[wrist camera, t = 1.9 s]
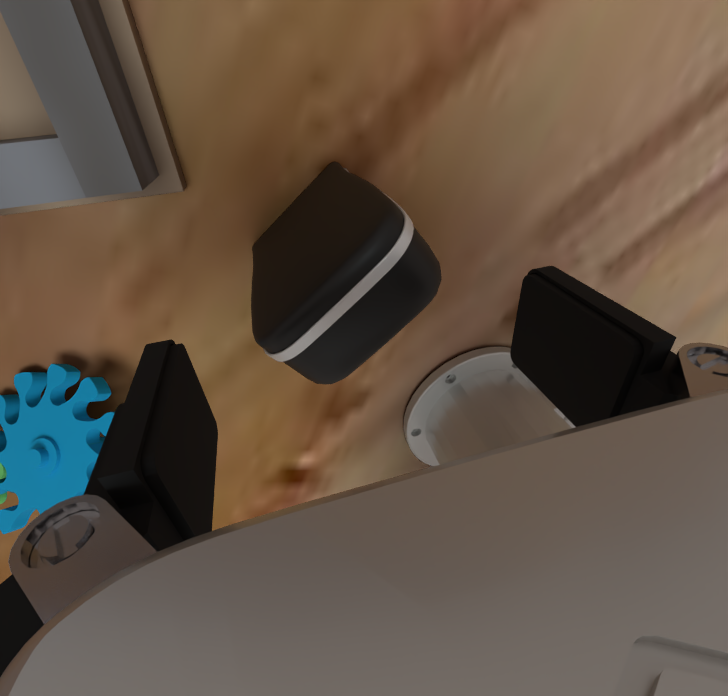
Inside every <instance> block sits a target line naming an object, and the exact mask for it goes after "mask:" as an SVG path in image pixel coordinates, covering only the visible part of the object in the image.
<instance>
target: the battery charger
mask: <svg viewBox="0 0 728 696" xmlns="http://www.w3.org/2000/svg"><path fill="white" fill-rule="evenodd" d="M252 251H253V276H252V294H251V313H252V329H253V335H254V338H255V341H256V343H257V344H259V345H260V346H261V347H262V348H263V349H264V352H265V353H266V354H267V355H268V356H270V357H271V358H273V359H274V360H276V361H279V362H284V363H285V364H287V365H288V366H290V367H291V368H293V369H294V370H296V371H297V372H298V373H300V374H301V375H303V376H304V377H306V378H307V379H309V380H311V381H313V382H315V383H317V384H333V383H335V382H338V381H340V380H342V379H344V378H346V377H347V376H348V375H349V374H351V373H352V372H353V371H355V370H356V369H357V368H358V367H359V366H360V365H362V364H363V363H364V362H365V361H366V360H367V359H368V358H370V357H371V356H372V355H373V354H374V353H375V352H377V351H378V350H379V349H380V348H381V347H382V346H384V345H385V344H386V343H387V342H388V341H389V340H390V339H391V338H393V337H394V336H395V335H396V334H397V333H398V332H399V331H400V330H401V329H402V328H404V327H405V326H406V325H407V324H408V323H409V322H410V321H411V320H412V319H413V318H414V317H416V316H417V315H418V314H419V313H420V312H421V311H422V310H423V309H424V308H425V307H426V306H427V305H428V304H429V303H430V302H431V301H432V299H433V298H434V296H435V295H436V294H437V291H438V288H439V285H440V282H441V270H440V264H439V262H438V260H437V258H436V257H435V255H434V253H433V252H432V250H431V248H430V247H429V245H428V244H427V243H426V242H425V240H424V239H423V238H422V237H421V235H420V234H419V233H418V232H417V230H416V229H415V228H414V227H413V223H412V221H411V219H410V218H409V216H408V215H407V214H406V212H405V211H404V210H403V209H402V208H401V207H400V206H399V205H398V204H397V203H396V202H395V201H394V200H392V199H391V198H390V197H389V196H388V195H386V194H385V193H383V192H382V191H380V190H379V189H378V188H377V187H375V186H374V185H372V184H371V183H369V182H368V181H366V180H364V179H362V178H360V177H358V176H356V175H354V174H352V173H350V172H349V171H348V170H347V169H346V168H343V167H342V166H341V165H340V164H339V163H337V162H332V163H331V164H329V165H328V166H327V167H326V168H325V170H324V171H323V172H322V173H321V174H320V175H319V176H318V177H317V178H316V179H315V180H314V181H313V182H312V183H311V184H310V185H309V186H308V187H307V188H306V189H305V190H304V192H303V193H302V194H301V195H300V196H299V197H298V198H297V199H296V200H295V201H294V202H293V203H292V204H291V205H290V206H289V207H288V208H287V209H286V211H285V212H284V213H283V214H282V215H281V216H280V217H279V218H278V219H277V220H276V221H275V222H274V223H273V224H272V225H271V227H270V228H269V229H268V230H267V231H266V232H265V233H264V234H263V235H262V236H261V237H260V238H259V239H258V241H257V242H256V243H255V244H254V245H253V247H252Z"/></svg>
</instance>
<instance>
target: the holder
mask: <svg viewBox="0 0 728 696" xmlns="http://www.w3.org/2000/svg"><path fill="white" fill-rule="evenodd" d="M186 187H187V185H186V182H185V179H184V176H183V173H182V170H181V166H180V163H179V160H178V157H177V154H176V151H175V147H174V144H173V141H172V138H171V135H170V132H169V129H168V125H167V122H166V119H165V116H164V113H163V110H162V106H161V103H160V100H159V97H158V94H157V91H156V87H155V84H154V81H153V78H152V75H151V72H150V69H149V65H148V62H147V59H146V56H145V53H144V50H143V46H142V43H141V40H140V37H139V34H138V31H137V27H136V24H135V21H134V18H133V15H132V12H131V9H130V5H129V2H128V0H0V215H8V214H15V213H23V212H30V211H38V210H46V209H53V208H61V207H68V206H76V205H84V204H91V203H99V202H106V201H114V200H121V199H129V198H137V197H144V196H152V195H159V194H167V193H175V192H182V191H184V190H185V188H186Z"/></svg>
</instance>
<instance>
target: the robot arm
mask: <svg viewBox="0 0 728 696" xmlns="http://www.w3.org/2000/svg"><path fill="white" fill-rule="evenodd" d="M675 339H676V337H675V336H673V335H671V334H669V333H668V332H666V331H664V330H663V329H661V328H659V327H657V326H656V325H654V324H652V323H651V322H649V321H647V320H645V319H644V318H642V317H640V316H638V315H637V314H635V313H633V312H632V311H630V310H628V309H626V308H625V307H623V306H621V305H620V304H618V303H616V302H614V301H613V300H611V299H609V298H607V297H606V296H604V295H602V294H601V293H599V292H597V291H595V290H594V289H592V288H590V287H589V286H587V285H585V284H583V283H582V282H580V281H578V280H576V279H575V278H573V277H571V276H570V275H568V274H566V273H564V272H563V271H561V270H559V269H558V268H556V267H554V266H547V267H542V268H537V269H532V270H531V271H529V273H528V275H527V276H525V277H524V279H523V282H522V288H521V294H520V299H519V305H518V311H517V317H516V322H515V328H514V334H513V339H512V345H511V348H508V347H486V348H482V349H477V350H473V351H470V352H468V353H465V354H462V355H460V356H458V357H456V358H454V359H452V360H450V361H449V362H447V363H445V364H443V365H442V366H441V367H440V368H438V369H437V370H436V371H434V372H433V373H432V374H431V375H430V376H429V377H428V378H427V379H426V380H425V381H424V382H423V383H422V384H421V385H420V386H419V388H418V389H417V390H416V392H415V393H414V394H413V396H412V398H411V400H410V402H409V404H408V406H407V408H406V412H405V416H404V426H403V430H404V434H405V438H406V441H407V443H408V445H409V447H410V449H411V451H412V452H413V454H414V455H415V456H416V457H417V458H418V459H419V460H421V461H422V462H423V463H425V464H428V465H430V466H433V467H429V468H425V469H422V470H418V471H415V472H411V473H408V474H404V475H401V476H397V477H393V478H390V479H386V480H383V481H379V482H376V483H372V484H369V485H365V486H362V487H358V488H354V489H351V490H347V491H344V492H340V493H337V494H333V495H330V496H326V497H322V498H319V499H315V500H312V501H308V502H305V503H302V504H298V505H295V506H292V507H288V508H285V509H282V510H278V511H275V512H272V513H268V514H265V515H261V516H258V517H255V518H251V519H248V520H245V521H241V522H238V523H235V524H231V525H228V526H226V527H223V528H220V529H217V530H214V531H212V518H213V502H214V486H215V471H216V455H217V439H218V430H217V424H216V421H215V418H214V416H213V413H212V411H211V409H210V406H209V404H208V401H207V399H206V397H205V394H204V392H203V389H202V387H201V385H200V382H199V380H198V377H197V375H196V373H195V370H194V368H193V365H192V363H191V361H190V358H189V356H188V353H187V351H186V349H185V347H184V345H183V344H182V343H181V344H175V342H174V341H173V340H166V341H161V342H156V343H151V344H147V345H146V346H145V348H144V351H143V354H142V356H141V359H140V362H139V365H138V367H137V370H136V373H135V376H134V378H133V381H132V384H131V387H130V389H129V392H128V395H127V398H126V400H125V403H122V404H120V405H119V406H118V407H117V409H116V411H115V413H114V416H113V418H112V421H111V424H110V426H109V429H108V432H107V434H106V437H105V439H104V442H103V445H102V447H101V450H100V453H99V455H98V458H97V460H96V463H95V466H94V468H93V471H92V474H91V476H90V479H89V481H88V484H87V487H86V489H85V492H84V495H81V496H75V497H72V498H69V499H67V500H64V501H62V502H59V503H57V504H56V505H54V506H52V507H51V508H49V509H47V510H46V511H44V512H43V513H41V514H40V515H39V516H38V517H37V518H35V519H34V520H33V521H32V522H31V523H30V524H29V525H28V526H27V527H26V528H25V529H24V530H23V532H22V533H21V534H20V535H19V536H18V538H17V540H16V542H15V543H14V545H13V547H12V549H11V552H10V557H9V561H8V562H9V566H10V570H11V572H12V575H11V576H10V577H9V578H7V579H6V580H5V581H4V582H3V583H1V584H0V696H728V348H727V347H724V346H720V345H715V344H709V343H690V344H687V345H684V346H682V347H681V348H680V349H679V351H678V353H677V355H676V354H675V353H673V352H671V351H670V350H671V348H672V346H673V343H674V341H675Z"/></svg>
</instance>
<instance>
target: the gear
mask: <svg viewBox="0 0 728 696" xmlns="http://www.w3.org/2000/svg"><path fill="white" fill-rule="evenodd" d="M79 378H80V371H79V370H78V369H77V368H75V367H73V366H71V365H68V364H51V365H50V367H49V368H48V371H47V374H46V373H45V372H23V373H19V374H16V375H15V378H14V384H15V387H16V389H17V391H18V394H19V396H18V395H16V394H14V395H0V424H1V426H2V428H3V430H4V432H3V431H0V504H1V503H3V502H5V500H6V498H7V491H10V492H12V493H16V494H17V496H18V499H19V504H18V505H16V506H12V507H9V508H6V509H2V510H0V530H1V532H2V533H3V534H6V533H9V532H12V531H15V530H17V529H20V528H23V527H24V526H25V525H26V524H27V522H28V519H29V517H30V516H31V514H32V513H33V511H34V510H36V509H37V510H38V511H39V513H40V514H41V513H43V512H44V511H46V510H47V509H49V508H51V507H52V506H54V505H56V504H57V503H59V502H62V501H64V500H67V499H69V498H72V497H75V496H81V495H84V492H85V489H86V487H87V484H88V481H89V479H90V476H91V474H92V471H93V468H94V466H95V463H96V460H97V458H98V455H99V453H100V450H101V447H102V445H103V442H104V439H105V437H106V434H107V432H108V429H109V426H110V424H111V421H112V418H113V416H114V413H115V412H108V413H106V414H104V415H103V416H102V417H101V418H99V419H92V418H90V417H89V416H88V415H87V412H86V408H87V405H88V403H89V402H95V401H104V400H106V399H108V398H109V397H110V395H111V391H110V388H109V386H108V384H107V383H106V381H105V380H104V379H103V377H88V378H85V379H83V380H82V381H81V383H80V385H79V388H78V390H77V392H76V393H75V394H74V396H73V397H72V398H71V399H70V400H68V401H67V402H66V400H65V391H66V390H67V388H69V387H70V386H72V385H74V384H76V383H77V382H78V380H79ZM46 384H47V386H46ZM45 386H46V390H45V393H44V395H43V397H42V399H40V397H41V393H42V391H43V390H44V388H45ZM100 432H101V433H102V434H103V435H104V437H100Z"/></svg>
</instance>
